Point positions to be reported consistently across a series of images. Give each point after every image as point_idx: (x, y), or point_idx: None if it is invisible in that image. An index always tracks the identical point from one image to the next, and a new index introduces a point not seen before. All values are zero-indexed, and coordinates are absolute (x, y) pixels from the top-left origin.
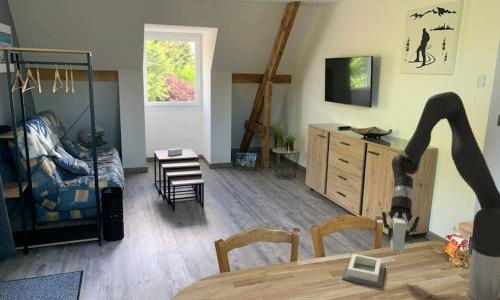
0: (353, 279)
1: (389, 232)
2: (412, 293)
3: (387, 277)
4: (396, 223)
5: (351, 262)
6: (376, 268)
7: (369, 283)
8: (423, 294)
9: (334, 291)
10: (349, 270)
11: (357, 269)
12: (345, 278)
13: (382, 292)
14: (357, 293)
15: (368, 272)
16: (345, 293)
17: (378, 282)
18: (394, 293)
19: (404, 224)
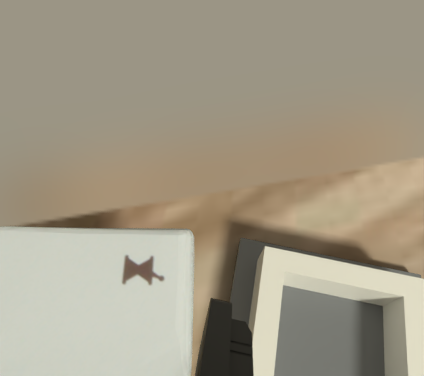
0: (367, 264)
1: (235, 358)
2: (107, 224)
3: (197, 348)
4: (159, 231)
5: (422, 362)
6: (271, 316)
7: (292, 249)
8: (60, 225)
9: (419, 182)
10: (409, 278)
11: (373, 280)
12: (403, 273)
13: (236, 208)
14: (333, 185)
15: (314, 261)
16: (377, 177)
17: (252, 258)
18: (187, 210)
19: (3, 227)
